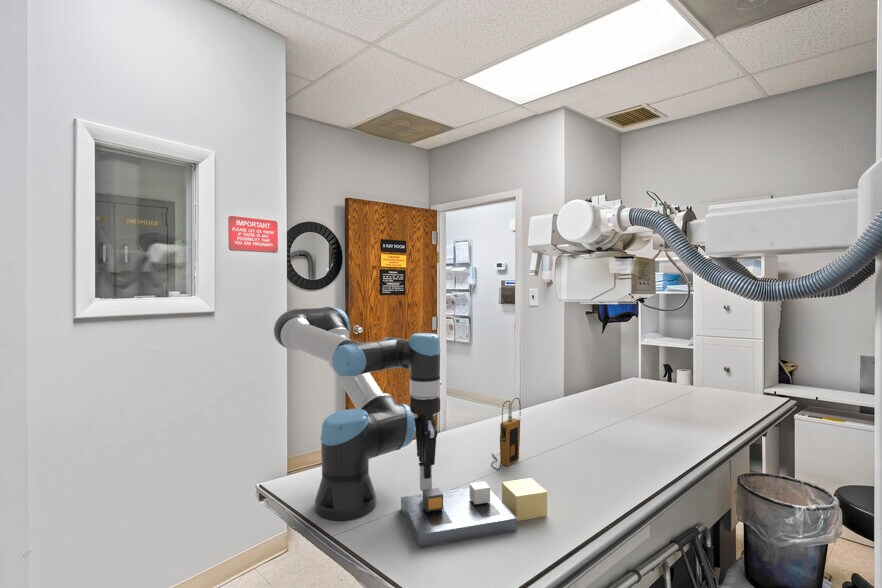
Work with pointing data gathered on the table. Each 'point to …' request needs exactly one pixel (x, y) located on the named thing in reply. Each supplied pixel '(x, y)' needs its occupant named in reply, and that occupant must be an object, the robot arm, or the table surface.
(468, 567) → the table surface
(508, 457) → the multimeter
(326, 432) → the robot arm
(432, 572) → the table surface
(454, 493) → the breaker panel
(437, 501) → the block
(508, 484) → the cap
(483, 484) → the block
